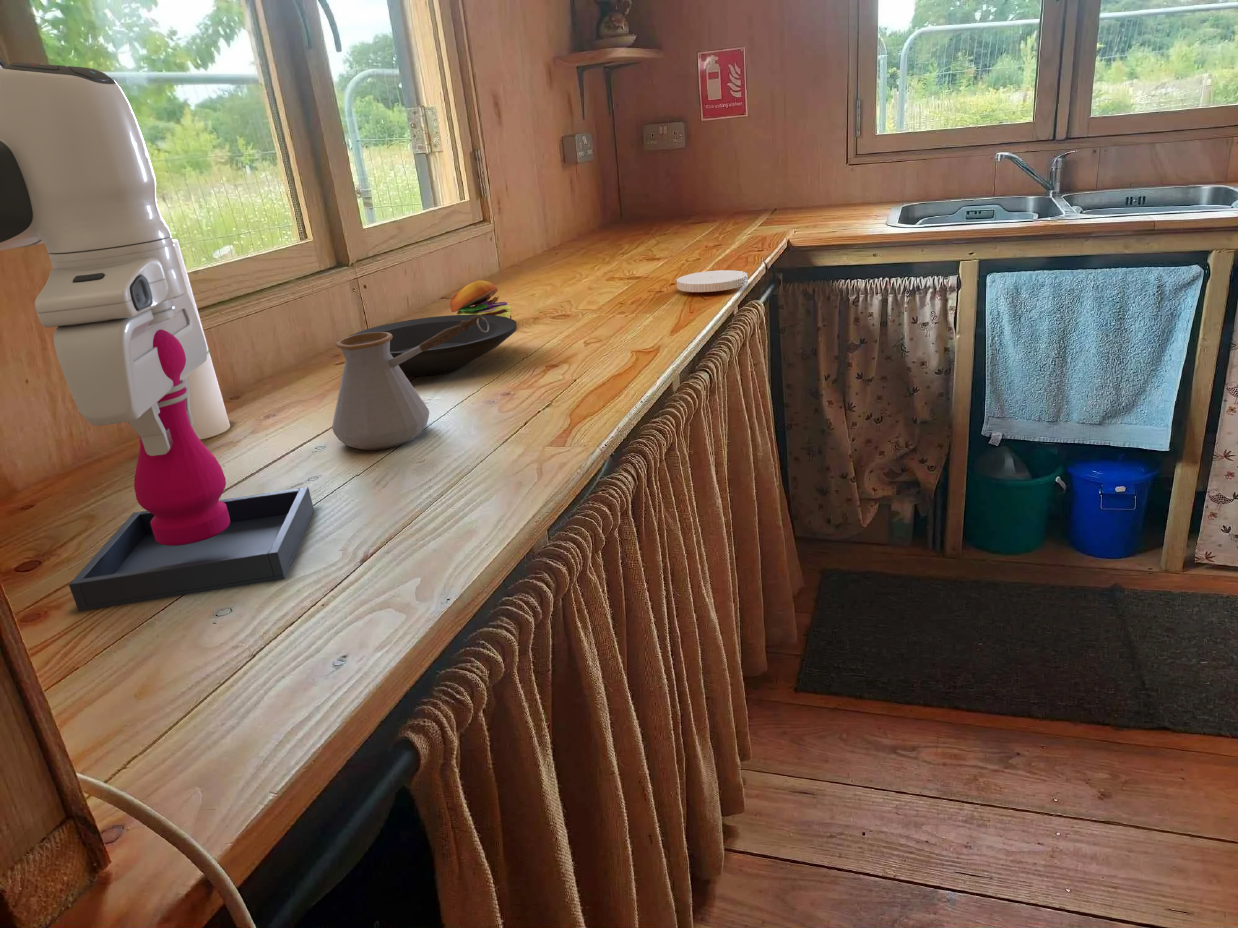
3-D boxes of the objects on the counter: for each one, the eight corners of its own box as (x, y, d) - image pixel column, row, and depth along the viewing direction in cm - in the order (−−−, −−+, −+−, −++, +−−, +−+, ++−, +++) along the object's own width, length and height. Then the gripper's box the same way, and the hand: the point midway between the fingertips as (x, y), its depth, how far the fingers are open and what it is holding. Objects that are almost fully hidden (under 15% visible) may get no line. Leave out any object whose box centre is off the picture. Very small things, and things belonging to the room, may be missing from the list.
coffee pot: (318, 459, 102) (288, 334, 97) (367, 426, 113) (342, 311, 107) (486, 460, 97) (464, 327, 91) (522, 424, 107) (504, 303, 101)
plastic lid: (669, 298, 170) (668, 285, 169) (687, 284, 182) (686, 272, 181) (740, 296, 165) (739, 282, 164) (753, 281, 178) (753, 269, 177)
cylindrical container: (221, 422, 121) (169, 238, 112) (238, 432, 116) (184, 240, 106) (167, 437, 117) (108, 248, 108) (181, 448, 112) (121, 250, 102)
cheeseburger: (492, 337, 153) (472, 282, 150) (451, 348, 159) (431, 296, 157) (527, 322, 161) (508, 270, 158) (486, 334, 167) (467, 283, 165)
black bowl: (315, 390, 132) (306, 354, 130) (397, 348, 153) (390, 317, 151) (482, 389, 123) (475, 351, 121) (544, 345, 144) (540, 312, 142)
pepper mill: (149, 527, 80) (84, 310, 73) (233, 507, 83) (178, 297, 76) (149, 556, 74) (78, 323, 67) (240, 534, 77) (181, 308, 70)
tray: (80, 616, 72) (68, 584, 71) (142, 539, 86) (133, 512, 84) (286, 583, 74) (277, 552, 73) (315, 513, 87) (308, 486, 86)
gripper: (129, 267, 80) (172, 411, 85) (21, 309, 61) (86, 491, 66) (200, 259, 80) (239, 401, 85) (116, 298, 61) (172, 478, 66)
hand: (172, 441), depth 75 cm, fingers closed on pepper mill, 4 cm apart
